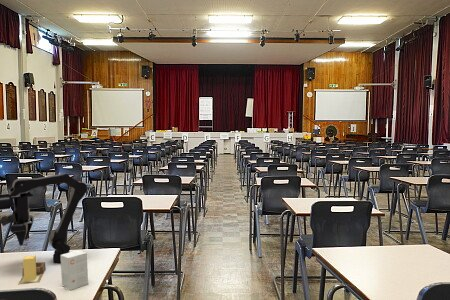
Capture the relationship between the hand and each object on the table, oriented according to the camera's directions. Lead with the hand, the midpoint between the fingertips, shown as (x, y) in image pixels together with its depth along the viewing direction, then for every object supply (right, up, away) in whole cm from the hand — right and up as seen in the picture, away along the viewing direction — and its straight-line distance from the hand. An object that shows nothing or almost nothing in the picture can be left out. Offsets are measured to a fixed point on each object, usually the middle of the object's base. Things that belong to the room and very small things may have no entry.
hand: (23, 242), depth 181 cm
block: (+9, -12, -13) cm, 20 cm away
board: (+8, -13, -8) cm, 18 cm away
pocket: (+7, -13, -4) cm, 15 cm away
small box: (+29, -14, -17) cm, 36 cm away
